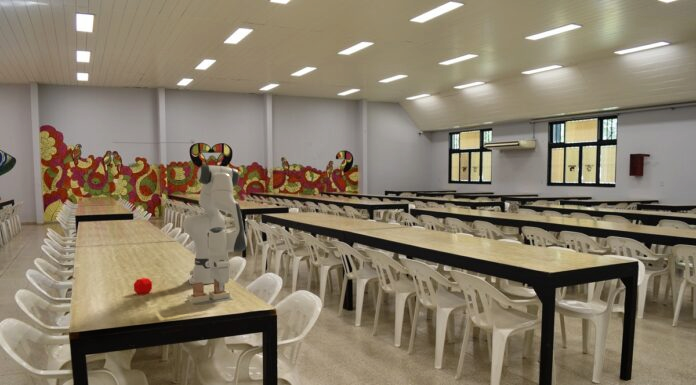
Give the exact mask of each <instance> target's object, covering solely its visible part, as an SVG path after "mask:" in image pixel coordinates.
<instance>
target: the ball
mask: <svg viewBox="0 0 696 385" xmlns="http://www.w3.org/2000/svg"><path fill="white" fill-rule="evenodd" d="M152 290H153V281H152V280H151V279H150V278H147V277H146V278H145V277H141V278H138V279H136V280H135V282H134V283H133V291H134V292H135V293H136V294H137V295H142V296H143V295H146V294H150V292H151V291H152Z"/></svg>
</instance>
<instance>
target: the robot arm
mask: <svg viewBox="0 0 696 385" xmlns="http://www.w3.org/2000/svg"><path fill="white" fill-rule="evenodd" d="M196 176H197V180H198V182H199V183H200V184H202V185H201V189H200V193H199V198H198V205H199V206H200V207H201V208H203V209H202V210H203V211H204V212H203V213H202V214H194V215H189V216H187V217H185V218H184V219H183V222H182V228H183V230H184V232H185V233H186V234H188V235H189V237H191V239H192V241H193V244H194V250H195V251H194V252H195V257H194V266H193V268H192V270H190V271H189V276H191V277H189V278H188V283H189V284H190V285H193V283H199V282H202V283H203V284H204V285H209V284H214V279H216V280H217V281H218V282H219V291H223V286H225V284H228V283H229V282H230V281H229V280H230V268H229V267H230V266H231V262H230V261H229V257H228V253H231V252H233V253H241V252H243V251H245V250H246V249H247V246H248V238H247V235H246V233H245V226H244V221H243V216H242V210H241V207H240V203H239V202H238V201H236V200H235V196H234V187H235V186H237V185H238V183H239V179H240V173H239V171H238V169H236V168H233V167H227V166H223V165H212V164H211V165H209V164H202V165H201V166H199V168H198V169H197V174H196ZM221 211H222V212H224V213H227V214H230V215H231V216H232V217H233V219H234V225H235V226H234V227H235V232H234V231H233V232H226V229H225V225H226V219H225V217H224V215H222V213H221Z"/></svg>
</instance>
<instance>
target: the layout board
mask: <svg viewBox="0 0 696 385" xmlns="http://www.w3.org/2000/svg"><path fill="white" fill-rule="evenodd" d="M185 299H186V300H187V301H188V302H190V303H191V304H192V305H194V306H202V305H208V304H215V303H221V302H226V301H233V300H234V298H232V297H231V292H230V291H228V290H227V289H225V293H219V294H214V290H212V291H211V290H210V291H208V293H207V292H205V291H204V296H198V297H193V293H190V294H187V297H185Z"/></svg>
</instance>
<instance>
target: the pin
mask: <svg viewBox="0 0 696 385" xmlns="http://www.w3.org/2000/svg"><path fill="white" fill-rule="evenodd" d="M204 285H205V284H203V283H202V282H199V283H193V284H192V294H193V297H198V296H204V292H205V290H204V289H205V288H204V287H205V286H204Z"/></svg>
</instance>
